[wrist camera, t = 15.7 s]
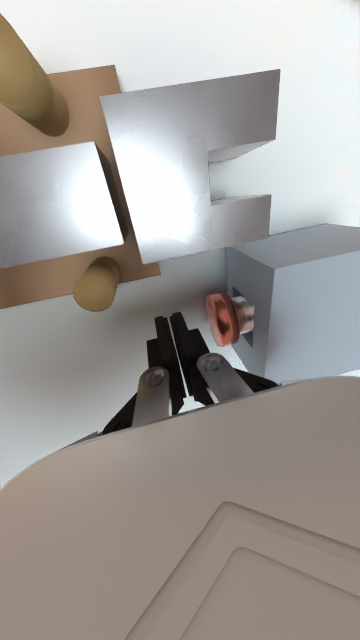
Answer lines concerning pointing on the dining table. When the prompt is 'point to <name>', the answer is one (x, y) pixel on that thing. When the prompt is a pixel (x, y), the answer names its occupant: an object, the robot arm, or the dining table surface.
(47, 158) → the grey bar
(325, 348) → the pin block
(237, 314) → the pin
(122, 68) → the dining table surface
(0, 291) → the rack
